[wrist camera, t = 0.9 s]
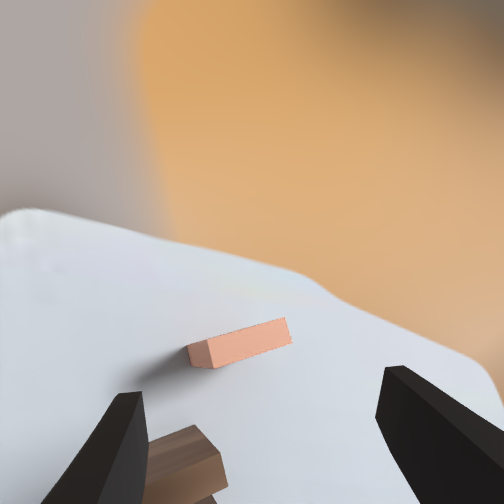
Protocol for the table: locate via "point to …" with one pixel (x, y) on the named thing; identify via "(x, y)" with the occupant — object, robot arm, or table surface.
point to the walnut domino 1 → (183, 468)
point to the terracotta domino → (239, 344)
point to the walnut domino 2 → (206, 500)
